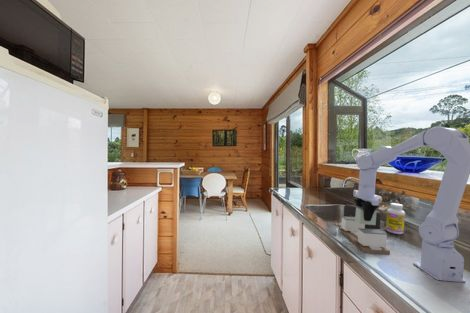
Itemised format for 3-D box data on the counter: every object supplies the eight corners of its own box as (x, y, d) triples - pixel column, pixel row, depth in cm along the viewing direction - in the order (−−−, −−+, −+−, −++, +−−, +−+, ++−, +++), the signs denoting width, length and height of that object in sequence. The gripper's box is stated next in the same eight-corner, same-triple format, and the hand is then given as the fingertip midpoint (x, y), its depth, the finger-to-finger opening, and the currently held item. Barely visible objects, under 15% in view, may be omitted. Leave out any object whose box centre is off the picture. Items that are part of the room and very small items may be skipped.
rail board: (389, 254, 79) (390, 249, 79) (363, 252, 80) (363, 247, 80) (359, 231, 101) (359, 227, 101) (338, 229, 102) (338, 226, 101)
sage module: (375, 225, 88) (376, 210, 88) (359, 223, 88) (360, 208, 88) (370, 221, 92) (371, 207, 92) (354, 220, 92) (356, 206, 92)
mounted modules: (386, 247, 80) (387, 233, 80) (363, 245, 81) (363, 232, 81) (359, 228, 100) (360, 217, 99) (341, 227, 100) (341, 216, 100)
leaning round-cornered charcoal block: (382, 231, 103) (383, 210, 102) (378, 233, 100) (380, 212, 100) (346, 221, 115) (347, 203, 115) (342, 222, 112) (343, 204, 112)
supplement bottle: (385, 232, 102) (387, 204, 101) (386, 228, 107) (387, 201, 106) (403, 235, 98) (405, 206, 97) (403, 231, 103) (405, 204, 102)
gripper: (388, 189, 82) (385, 225, 82) (367, 183, 96) (365, 214, 97) (368, 188, 82) (366, 224, 83) (350, 182, 97) (348, 213, 97)
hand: (364, 218), depth 90 cm, fingers closed on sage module, 4 cm apart
